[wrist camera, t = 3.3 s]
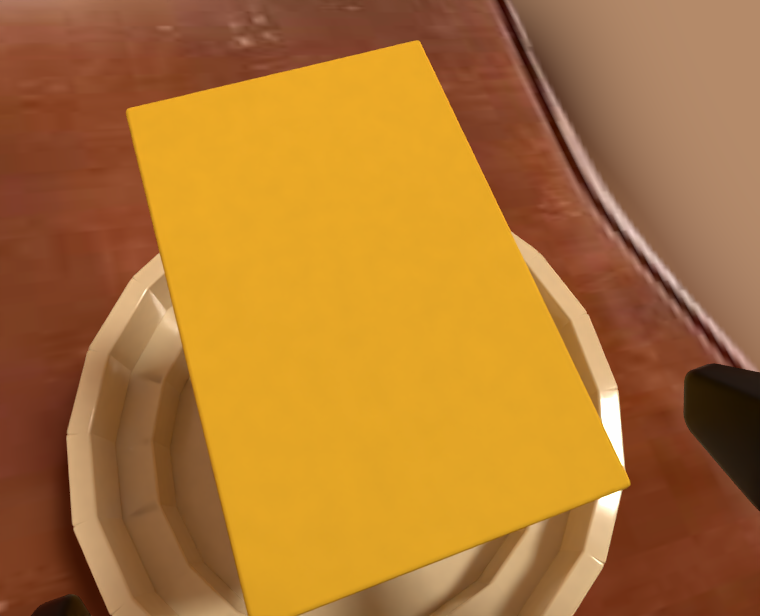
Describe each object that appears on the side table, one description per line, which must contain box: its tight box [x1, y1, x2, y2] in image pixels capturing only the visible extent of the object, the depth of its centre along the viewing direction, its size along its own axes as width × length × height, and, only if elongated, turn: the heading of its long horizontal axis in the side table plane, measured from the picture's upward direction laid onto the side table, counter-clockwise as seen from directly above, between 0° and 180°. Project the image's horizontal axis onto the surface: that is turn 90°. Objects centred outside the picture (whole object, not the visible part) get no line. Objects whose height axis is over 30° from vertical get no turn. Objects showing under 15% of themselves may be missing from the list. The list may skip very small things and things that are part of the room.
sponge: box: [126, 41, 630, 616], centre depth 13 cm, size 7×4×12 cm, turn 19°
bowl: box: [66, 232, 625, 616], centre depth 17 cm, size 14×14×4 cm
